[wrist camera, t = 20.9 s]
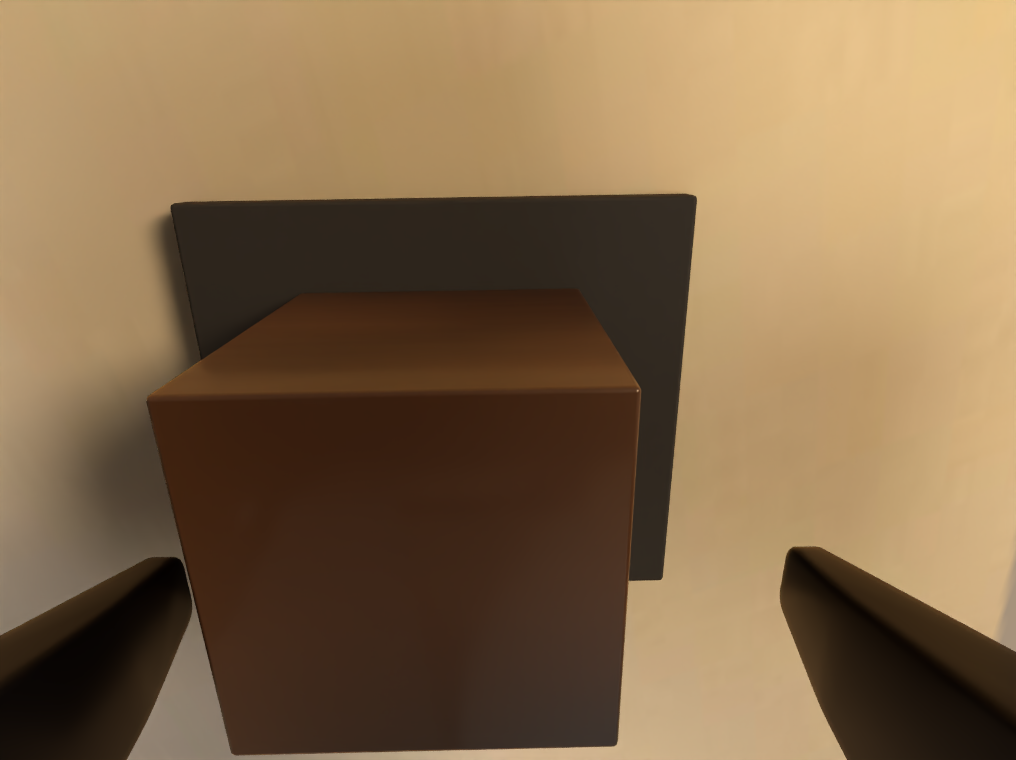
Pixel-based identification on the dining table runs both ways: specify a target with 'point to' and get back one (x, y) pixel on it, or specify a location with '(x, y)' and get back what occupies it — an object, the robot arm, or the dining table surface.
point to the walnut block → (409, 521)
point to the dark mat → (471, 282)
